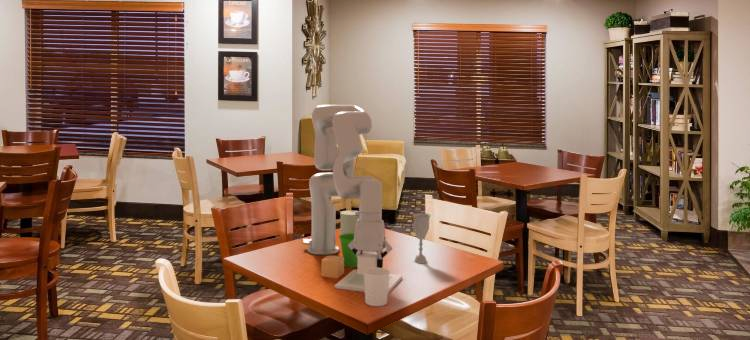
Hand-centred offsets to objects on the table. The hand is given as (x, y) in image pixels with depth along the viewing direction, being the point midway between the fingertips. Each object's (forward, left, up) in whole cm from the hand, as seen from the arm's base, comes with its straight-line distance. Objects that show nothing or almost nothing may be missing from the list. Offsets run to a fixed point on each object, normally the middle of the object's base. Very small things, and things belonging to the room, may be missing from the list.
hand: (369, 268), depth 206 cm
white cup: (+8, -17, -5) cm, 19 cm away
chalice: (+10, +31, -5) cm, 33 cm away
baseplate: (0, 0, -5) cm, 5 cm away
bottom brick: (0, 0, -1) cm, 1 cm away
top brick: (-15, +4, -5) cm, 16 cm away
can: (-27, +54, -5) cm, 61 cm away
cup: (-13, +17, -5) cm, 22 cm away
